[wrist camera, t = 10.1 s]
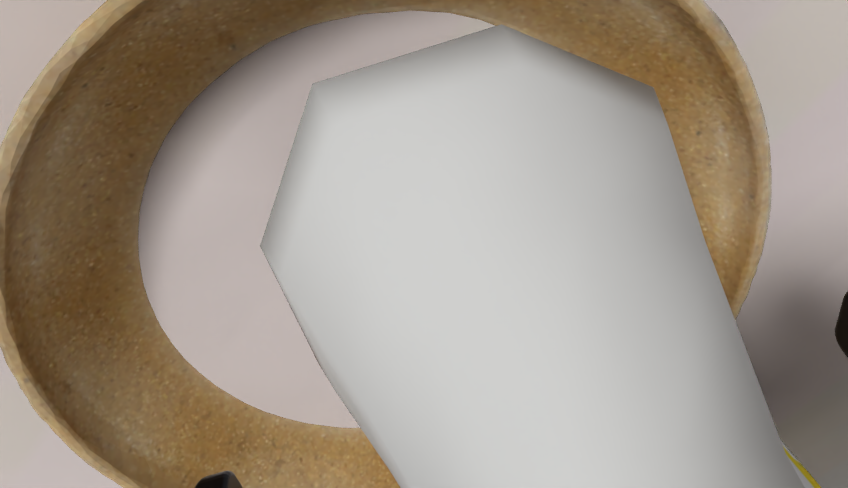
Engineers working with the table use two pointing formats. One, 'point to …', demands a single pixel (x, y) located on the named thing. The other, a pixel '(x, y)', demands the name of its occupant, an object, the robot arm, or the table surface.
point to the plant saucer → (138, 146)
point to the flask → (515, 277)
